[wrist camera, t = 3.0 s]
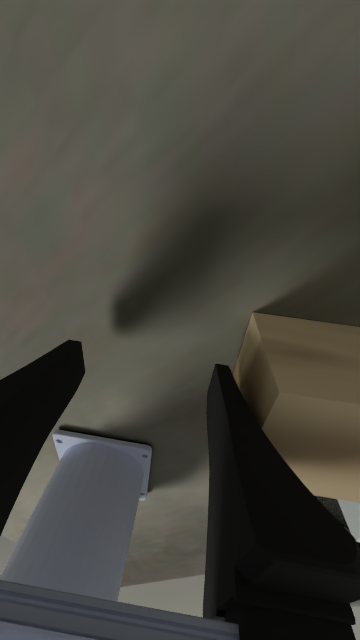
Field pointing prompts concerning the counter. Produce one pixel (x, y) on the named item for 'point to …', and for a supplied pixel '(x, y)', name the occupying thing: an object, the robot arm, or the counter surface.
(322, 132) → the counter surface
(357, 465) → the block
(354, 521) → the board
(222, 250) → the counter surface
